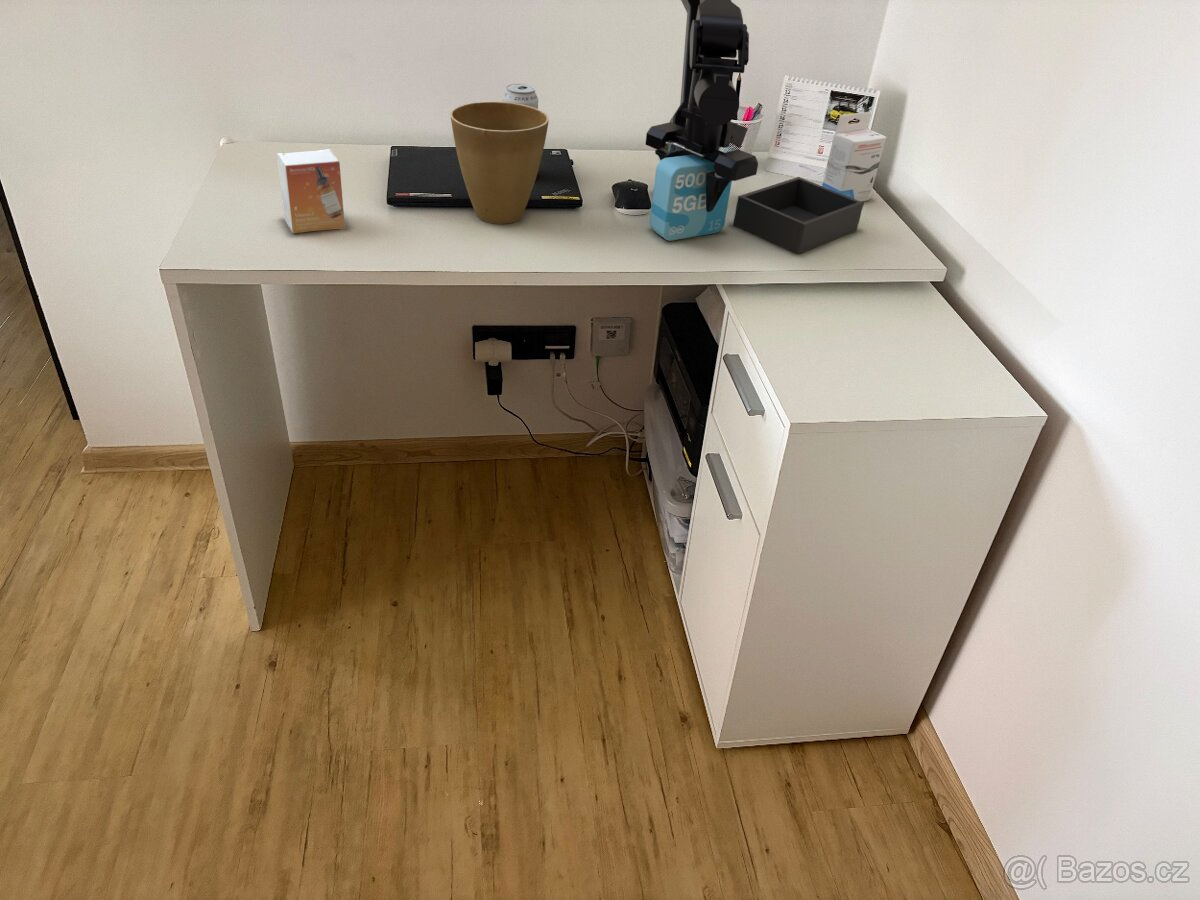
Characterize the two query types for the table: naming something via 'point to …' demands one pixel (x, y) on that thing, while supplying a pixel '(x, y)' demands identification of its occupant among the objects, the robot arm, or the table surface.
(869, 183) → the ink box
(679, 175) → the data package
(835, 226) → the black box
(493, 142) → the plant pot
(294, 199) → the small box
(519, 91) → the energy drink can
